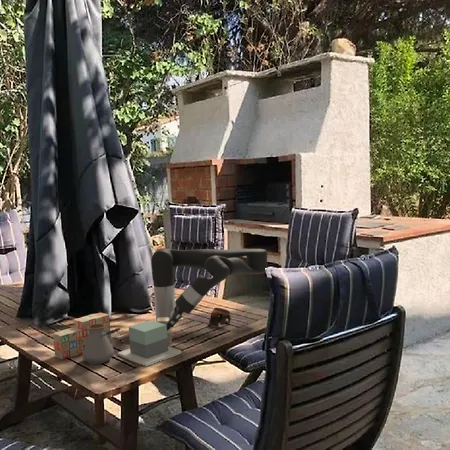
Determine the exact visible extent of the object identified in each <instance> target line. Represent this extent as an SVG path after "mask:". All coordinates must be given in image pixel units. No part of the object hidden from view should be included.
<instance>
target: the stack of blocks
mask: <svg viewBox="0 0 450 450" xmlns="http://www.w3.org/2000/svg"><path fill="white" fill-rule="evenodd" d="M93 324H104V325H105V327H104V333H107V332H109V331H111V322H110V315H109V314H107V313H104V312H98V313H91V314H88V315H85V316H81V317H79V318H74V319H73V327H71V328H69V327H68V328H66V329H63V330H59V331H56V332H52V335H53V349H54V357H56V358H58V359H60V360H66V359H69V358H72V357H75V356H78V355H82V354H83V351H84V348H85V345H86V342H87V339H88V336H89V331H88V330H87V327H88V326H90V325H93ZM111 335H112V334H109V335H106V336H107V338H108V340H109V342H110V343H111V344H112V337H111Z"/></svg>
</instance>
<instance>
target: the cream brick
mask: <svg viewBox="0 0 450 450" xmlns="http://www.w3.org/2000/svg"><path fill="white" fill-rule="evenodd" d="M168 320H169V317H163V318H158V319H157V322H159V323H162V324H166V323H167V322H168ZM170 323H171V322H170ZM167 340H168V344H169V343H172V328H170V329H169V330H168V331H167Z"/></svg>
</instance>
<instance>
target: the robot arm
mask: <svg viewBox="0 0 450 450" xmlns="http://www.w3.org/2000/svg"><path fill="white" fill-rule="evenodd" d="M242 257H246V262H245V261H244V260H243V259H241V258H242ZM150 265H151V266H150V267H151V277H152V283H153V295H154V297H153V299H154V309H155V310H154V311H155V322H157V319H158V318H163V317H169V320H168V322H167V323H166V325H167V331H168V330H169V329H170V328H171V329H172V328H174V327H175V325H177V323H178V322H179V321H180V320H181V318H183V313H185V314H187V315H188V314H189V315H190V313H192V311H194V309H195V308H196V307H197V306H198V305H199V303H200V302H201V301H202V300H203V298H204V297H205V296H206V295H207V293H209V292H210V290H211V289H213V288H214V287H215V286H217V285H218V284H220V283H221V282H223V281H225V279H228V277H229V276H234V275H238V274H239V275H261V274H264V273H266V272H265V268H267V269H268V252H267V250H266V249H264V248H244V249H243V248H242V249H220V248H219V249H217V248H207V249H206V248H205V249H204V248H201V249H185V250H184V249H173V248H164V247H163V248H158V249H157V250H155V251H154V252H153V254H152V255H151V259H150ZM174 267H188V268H193V269H197V270H205V271H206V272H207V273H209V275H210V276H211V278H207V277H205V276H204V275H201V274H200V275H198V276H196V278H195V279H194V280H193V281H192V283H191V284H190V285H189V286H187V288H186V289H184V291H182V293H181V294H180V295H179V296H178V297H177V299H176V292H175V291H176V290H175V278H174ZM170 322H171V323H170Z"/></svg>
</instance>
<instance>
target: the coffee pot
mask: <svg viewBox="0 0 450 450" xmlns="http://www.w3.org/2000/svg"><path fill="white" fill-rule="evenodd" d="M104 327H105V325H104V324H93V325H90V326H88V327H87V330H88V331H89V336H88V339H87V342H86V345H85V348H84V351H83V353H82V354H81V355H82V358H83V360H84V361H86V362H88V364H90V365H101V364H104V363H106V362H109V361H110V359H112V357H113V356H114V354H115V349H114V347H113V345H112V342H111V343H110V342H109V340H108V338H107V336H106V335H109V334H111V335H112V334H114V333H117V334H119V335H120V333H119V331H120V330H121V328H120V327H116V328H115V329H110V331H109V332H107V333H104ZM123 332H124V331H122V332H121V334H122V333H123Z"/></svg>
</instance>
